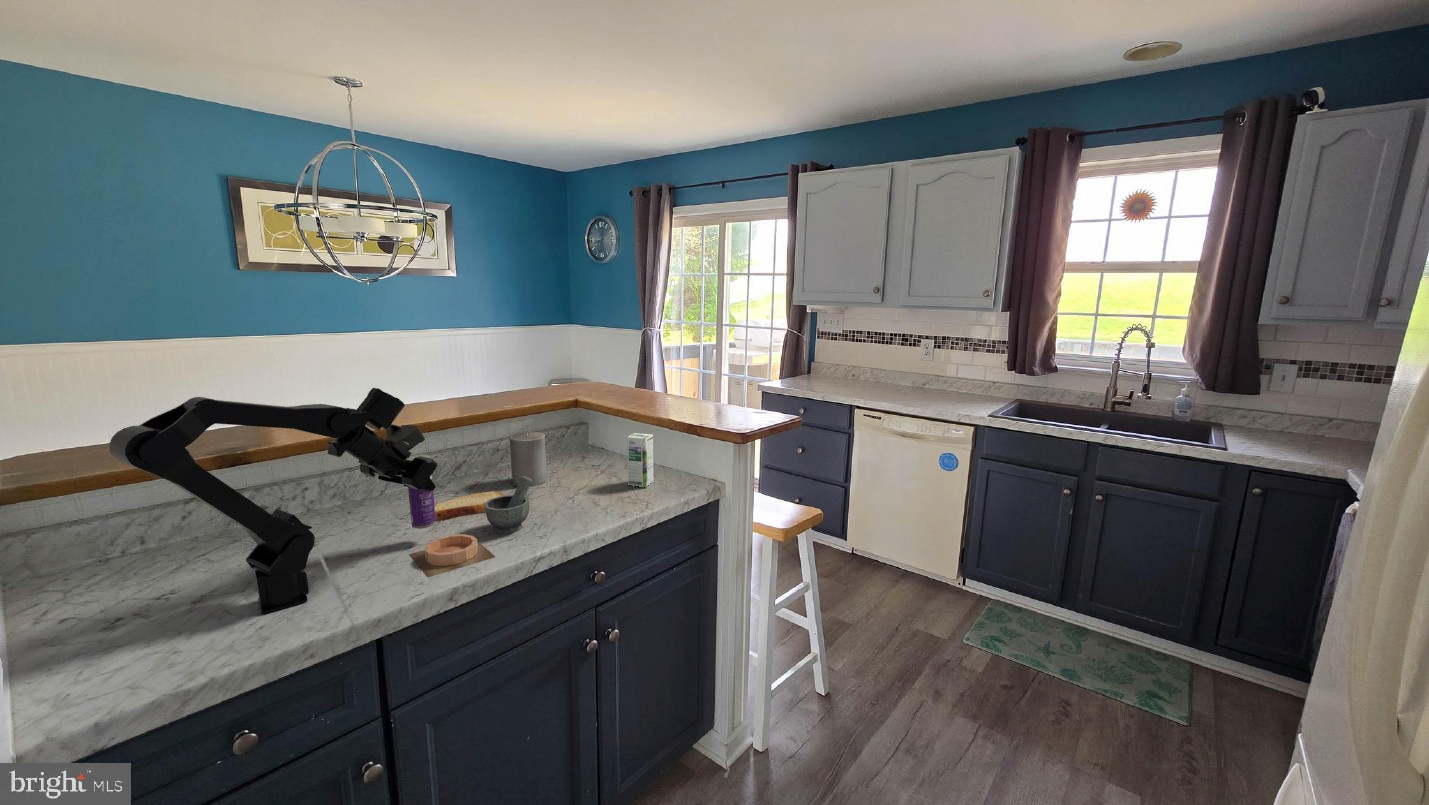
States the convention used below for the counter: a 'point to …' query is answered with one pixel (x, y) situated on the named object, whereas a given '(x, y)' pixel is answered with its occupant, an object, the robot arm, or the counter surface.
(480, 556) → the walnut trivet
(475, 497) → the bread slice
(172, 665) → the counter surface
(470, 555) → the terracotta dish
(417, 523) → the container
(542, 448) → the pillar candle
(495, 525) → the mortar and pestle
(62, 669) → the counter surface
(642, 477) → the syrup box
